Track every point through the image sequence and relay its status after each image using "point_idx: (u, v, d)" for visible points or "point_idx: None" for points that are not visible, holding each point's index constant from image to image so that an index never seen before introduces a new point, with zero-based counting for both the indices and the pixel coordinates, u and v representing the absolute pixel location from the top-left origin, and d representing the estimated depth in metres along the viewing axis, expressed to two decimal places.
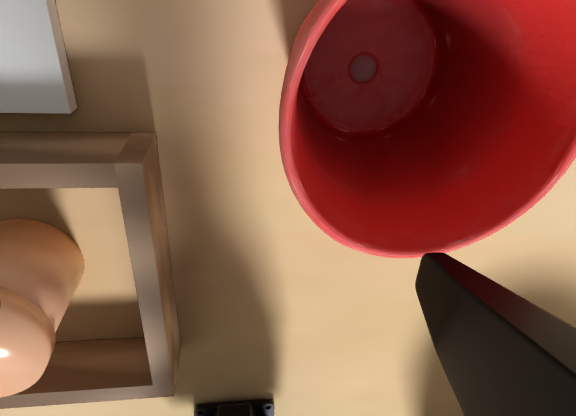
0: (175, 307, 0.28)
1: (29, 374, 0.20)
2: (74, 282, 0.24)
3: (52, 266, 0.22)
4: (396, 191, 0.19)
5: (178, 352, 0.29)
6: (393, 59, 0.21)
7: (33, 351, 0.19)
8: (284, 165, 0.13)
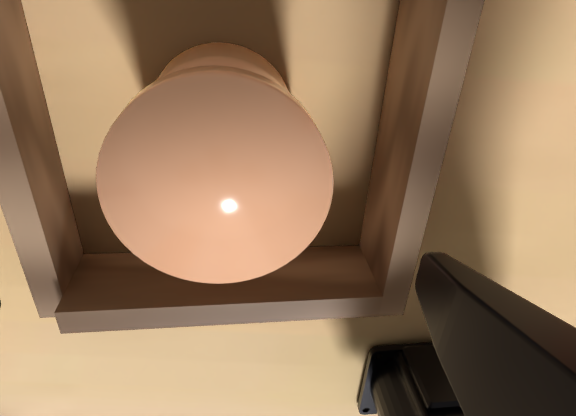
0: None
1: (293, 241, 0.13)
2: None
3: None
4: None
5: None
6: None
7: (315, 196, 0.12)
8: None
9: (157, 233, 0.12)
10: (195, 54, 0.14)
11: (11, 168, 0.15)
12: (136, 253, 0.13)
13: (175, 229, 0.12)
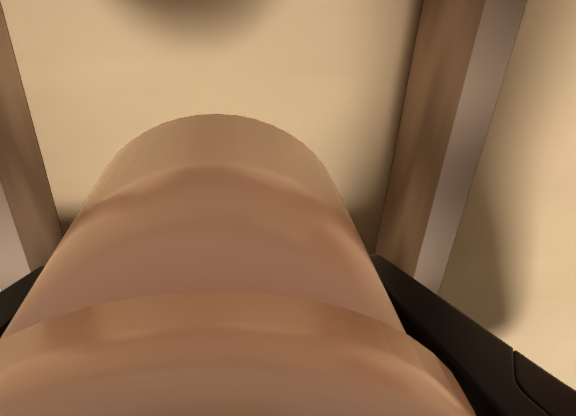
0: None
1: None
2: None
3: (362, 242, 0.07)
4: None
5: None
6: None
7: None
8: None
9: None
10: (163, 156, 0.07)
11: None
12: None
13: None
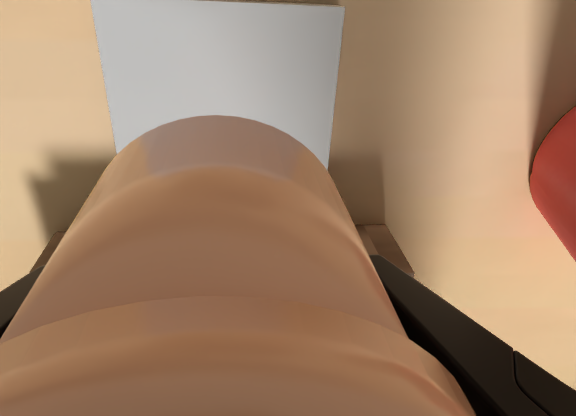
0: None
1: None
2: None
3: (362, 245, 0.07)
4: None
5: None
6: None
7: None
8: None
9: None
10: (162, 158, 0.07)
11: None
12: None
13: None
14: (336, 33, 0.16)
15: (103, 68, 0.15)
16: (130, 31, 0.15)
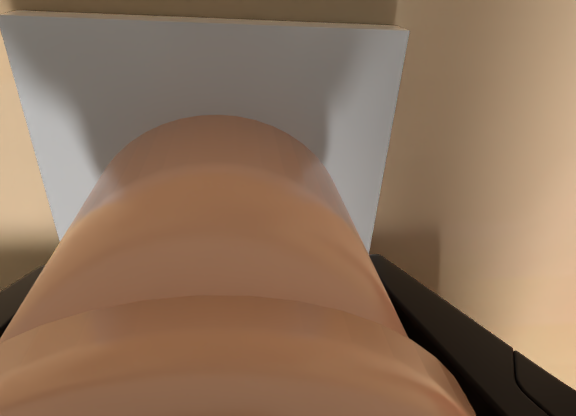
0: None
1: None
2: None
3: (363, 244, 0.07)
4: None
5: None
6: None
7: None
8: None
9: None
10: (162, 158, 0.07)
11: None
12: None
13: None
14: (393, 70, 0.10)
15: (29, 126, 0.10)
16: (68, 70, 0.09)
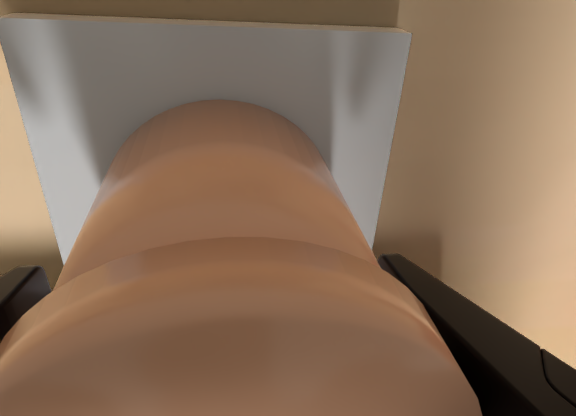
0: None
1: None
2: None
3: (350, 211, 0.08)
4: None
5: None
6: None
7: None
8: None
9: None
10: (176, 138, 0.08)
11: None
12: None
13: None
14: (396, 73, 0.10)
15: (27, 130, 0.10)
16: (67, 74, 0.09)
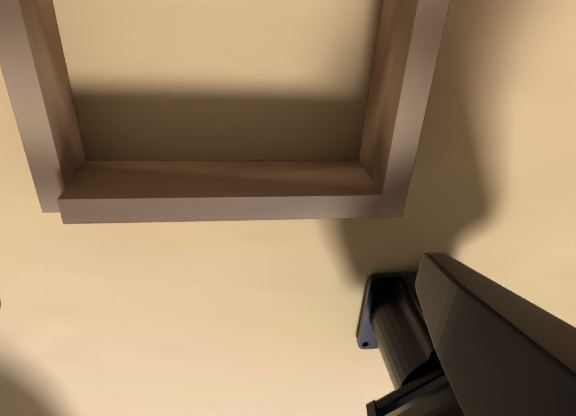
0: None
1: None
2: None
3: None
4: None
5: None
6: None
7: None
8: None
9: None
10: None
11: (16, 40, 0.15)
12: None
13: None
14: None
15: None
16: None
